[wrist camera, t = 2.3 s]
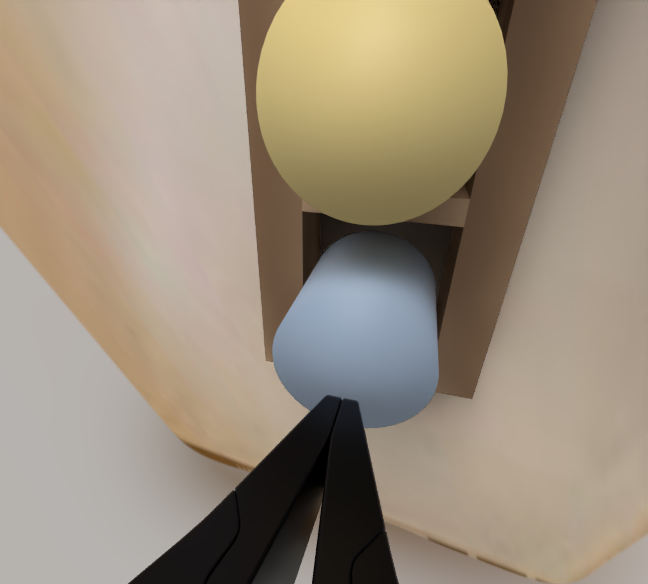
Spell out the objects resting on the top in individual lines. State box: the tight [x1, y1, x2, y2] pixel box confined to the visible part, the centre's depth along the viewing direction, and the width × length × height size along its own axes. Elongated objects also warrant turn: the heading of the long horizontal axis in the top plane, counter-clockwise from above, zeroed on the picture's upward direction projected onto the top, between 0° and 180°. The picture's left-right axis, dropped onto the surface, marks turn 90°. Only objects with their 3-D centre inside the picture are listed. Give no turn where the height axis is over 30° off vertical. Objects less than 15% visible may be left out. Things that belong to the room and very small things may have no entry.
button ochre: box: [256, 0, 508, 226], centre depth 10 cm, size 5×5×5 cm
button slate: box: [272, 231, 439, 428], centre depth 13 cm, size 5×5×5 cm
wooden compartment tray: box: [238, 0, 597, 399], centre depth 13 cm, size 10×24×3 cm, turn 179°
